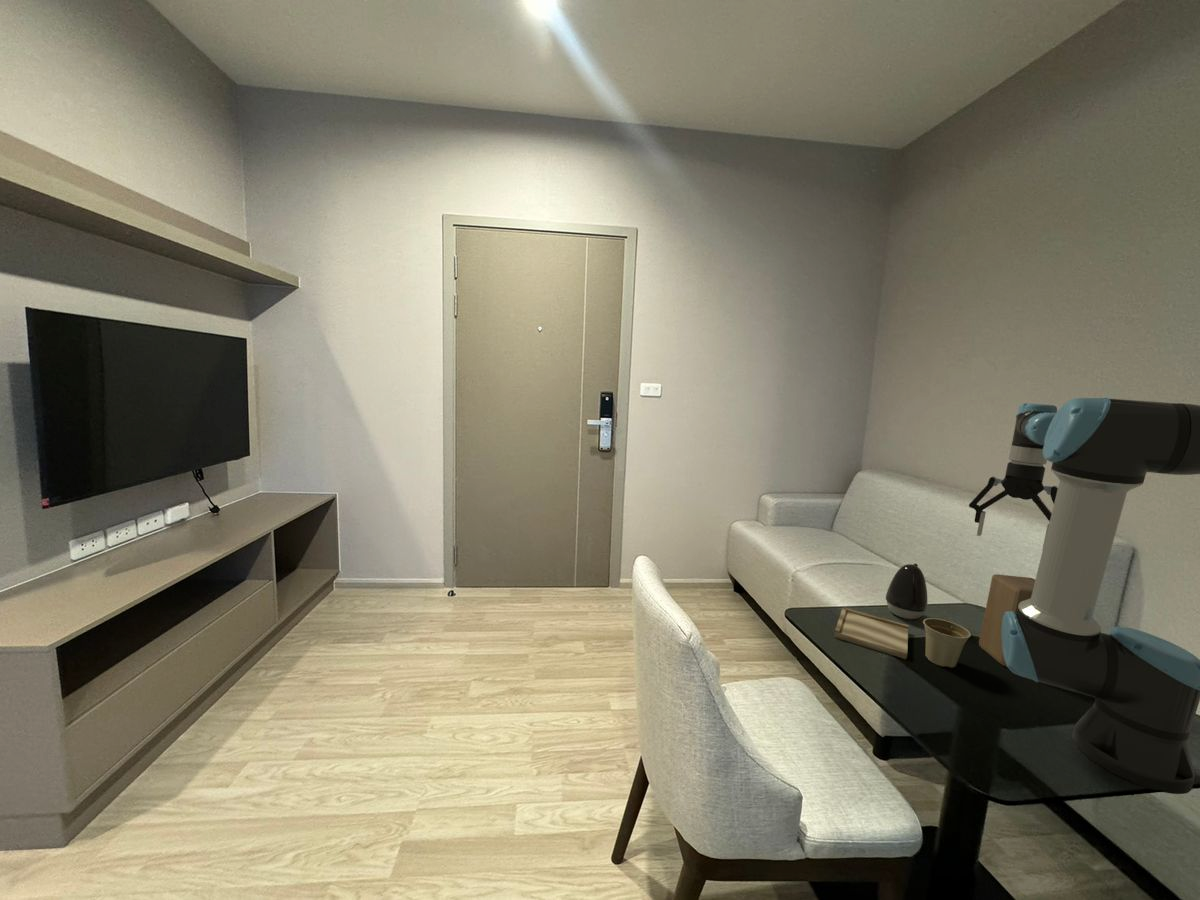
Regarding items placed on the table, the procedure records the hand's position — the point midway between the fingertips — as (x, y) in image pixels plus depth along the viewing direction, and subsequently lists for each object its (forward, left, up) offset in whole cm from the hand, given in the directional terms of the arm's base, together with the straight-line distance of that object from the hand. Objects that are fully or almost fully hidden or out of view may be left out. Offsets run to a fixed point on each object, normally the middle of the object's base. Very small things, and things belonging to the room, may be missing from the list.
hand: (1010, 542), depth 132 cm
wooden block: (-14, -2, -26) cm, 30 cm away
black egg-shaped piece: (-4, +21, -26) cm, 34 cm away
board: (-24, +28, -26) cm, 45 cm away
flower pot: (-27, +13, -26) cm, 40 cm away
